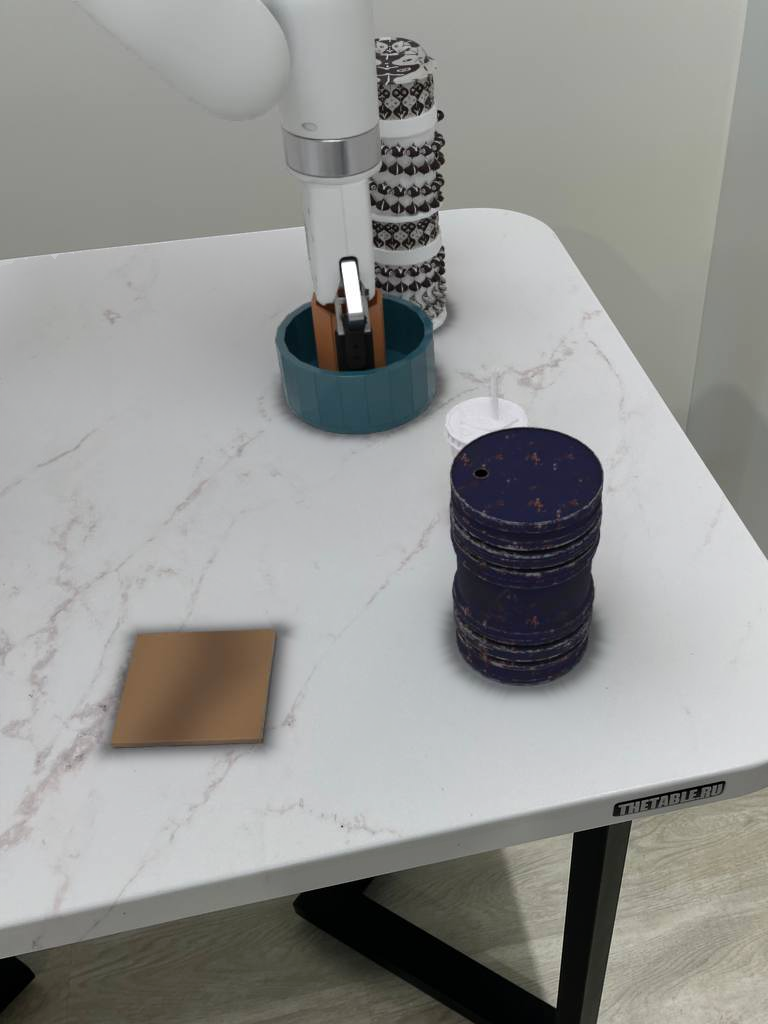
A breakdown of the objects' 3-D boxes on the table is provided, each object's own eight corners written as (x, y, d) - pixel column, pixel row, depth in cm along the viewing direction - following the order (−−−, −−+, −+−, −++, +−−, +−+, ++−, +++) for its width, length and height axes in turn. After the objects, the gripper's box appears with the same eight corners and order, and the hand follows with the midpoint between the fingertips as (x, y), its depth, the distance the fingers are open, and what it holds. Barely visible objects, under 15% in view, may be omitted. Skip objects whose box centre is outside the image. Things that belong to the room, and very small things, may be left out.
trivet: (111, 748, 70) (109, 743, 70) (139, 637, 77) (137, 633, 76) (262, 742, 70) (260, 738, 70) (276, 633, 77) (275, 628, 76)
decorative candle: (365, 291, 110) (340, 27, 92) (453, 292, 110) (445, 28, 91) (354, 338, 104) (325, 66, 85) (447, 339, 104) (438, 66, 85)
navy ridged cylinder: (585, 587, 80) (600, 425, 69) (595, 686, 73) (613, 524, 62) (454, 588, 80) (448, 426, 69) (452, 687, 73) (445, 525, 62)
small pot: (319, 396, 95) (309, 316, 89) (323, 360, 99) (314, 280, 93) (386, 395, 95) (380, 315, 89) (387, 359, 99) (382, 280, 93)
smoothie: (527, 545, 83) (533, 395, 73) (447, 546, 83) (440, 396, 73) (525, 493, 87) (529, 345, 77) (448, 494, 87) (442, 346, 77)
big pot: (278, 436, 93) (268, 378, 89) (292, 350, 103) (283, 293, 98) (436, 432, 93) (433, 373, 89) (435, 346, 103) (432, 289, 98)
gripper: (275, 107, 87) (300, 305, 100) (294, 198, 75) (320, 409, 88) (365, 100, 88) (378, 297, 101) (398, 189, 76) (408, 398, 89)
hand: (351, 348), depth 95 cm, fingers closed on small pot, 6 cm apart
